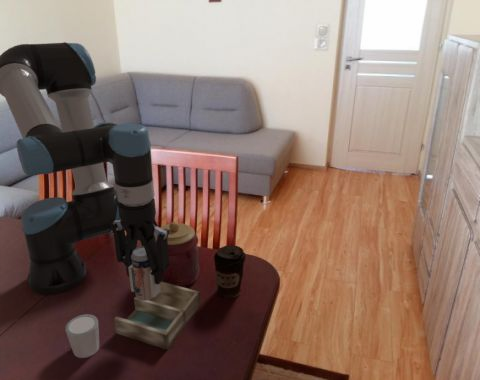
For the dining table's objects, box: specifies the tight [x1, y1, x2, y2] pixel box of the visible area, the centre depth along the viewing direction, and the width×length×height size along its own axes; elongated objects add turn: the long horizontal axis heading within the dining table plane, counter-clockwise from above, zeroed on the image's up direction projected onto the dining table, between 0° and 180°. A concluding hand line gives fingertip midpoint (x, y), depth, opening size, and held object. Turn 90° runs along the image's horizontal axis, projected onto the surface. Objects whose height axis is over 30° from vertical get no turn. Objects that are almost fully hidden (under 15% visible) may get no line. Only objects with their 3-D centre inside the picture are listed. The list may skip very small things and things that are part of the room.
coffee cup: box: [213, 244, 247, 298], centre depth 108 cm, size 9×8×13 cm
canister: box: [154, 221, 200, 288], centre depth 113 cm, size 13×13×18 cm
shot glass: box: [65, 313, 100, 359], centre depth 90 cm, size 7×7×7 cm
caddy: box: [113, 282, 201, 351], centre depth 99 cm, size 14×16×4 cm
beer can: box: [131, 246, 154, 301], centre depth 91 cm, size 5×5×12 cm
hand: (146, 290), depth 92 cm, fingers closed on beer can, 5 cm apart
